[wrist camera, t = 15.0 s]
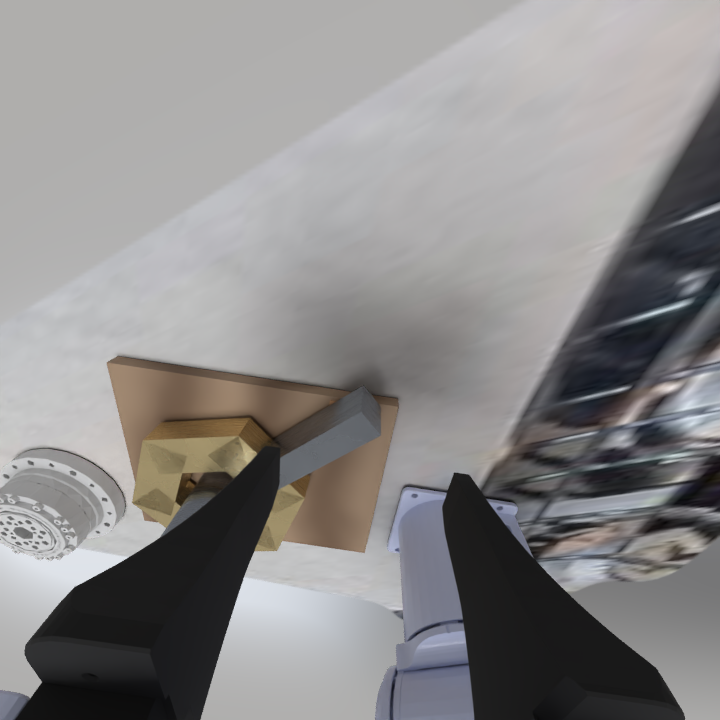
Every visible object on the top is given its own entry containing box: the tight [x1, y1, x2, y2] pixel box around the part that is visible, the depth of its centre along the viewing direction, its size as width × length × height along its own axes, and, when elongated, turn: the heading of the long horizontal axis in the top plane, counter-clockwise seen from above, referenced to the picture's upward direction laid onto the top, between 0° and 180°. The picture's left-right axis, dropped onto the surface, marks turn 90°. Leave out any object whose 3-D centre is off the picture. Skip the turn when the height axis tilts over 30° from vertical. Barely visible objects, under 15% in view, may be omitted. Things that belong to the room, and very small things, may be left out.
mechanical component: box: [0, 449, 125, 561], centre depth 27 cm, size 10×4×10 cm
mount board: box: [107, 356, 399, 553], centre depth 25 cm, size 20×16×1 cm
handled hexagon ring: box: [132, 385, 381, 551], centre depth 22 cm, size 20×13×3 cm
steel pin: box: [161, 472, 234, 537], centre depth 22 cm, size 4×4×6 cm
